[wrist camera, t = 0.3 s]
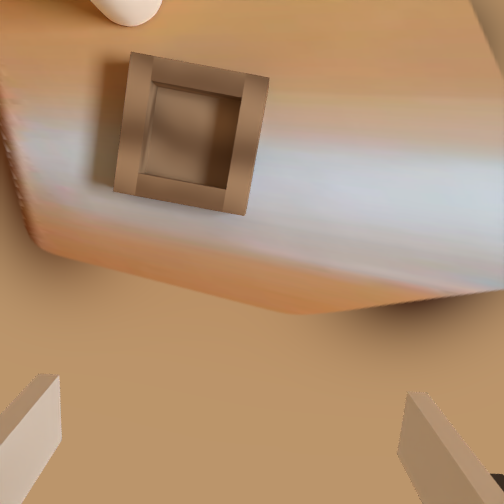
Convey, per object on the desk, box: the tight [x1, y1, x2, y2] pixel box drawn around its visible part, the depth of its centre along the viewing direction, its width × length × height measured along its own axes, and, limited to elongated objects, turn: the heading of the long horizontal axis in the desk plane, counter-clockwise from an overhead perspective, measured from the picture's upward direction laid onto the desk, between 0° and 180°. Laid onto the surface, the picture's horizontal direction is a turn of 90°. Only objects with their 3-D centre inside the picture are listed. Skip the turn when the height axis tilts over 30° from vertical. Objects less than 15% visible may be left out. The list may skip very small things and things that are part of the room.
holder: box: [113, 52, 269, 216], centre depth 39 cm, size 12×12×4 cm
